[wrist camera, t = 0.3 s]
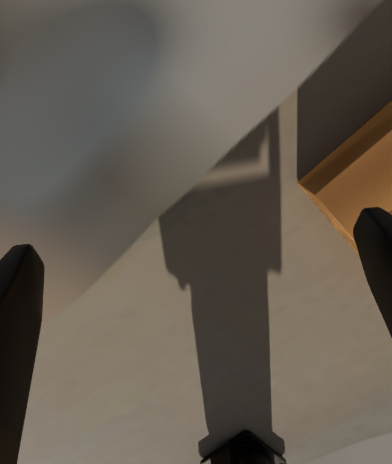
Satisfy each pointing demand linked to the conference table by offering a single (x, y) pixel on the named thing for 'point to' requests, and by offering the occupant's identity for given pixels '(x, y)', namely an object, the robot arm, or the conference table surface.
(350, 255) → the conference table surface
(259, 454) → the robot arm
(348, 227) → the stand
